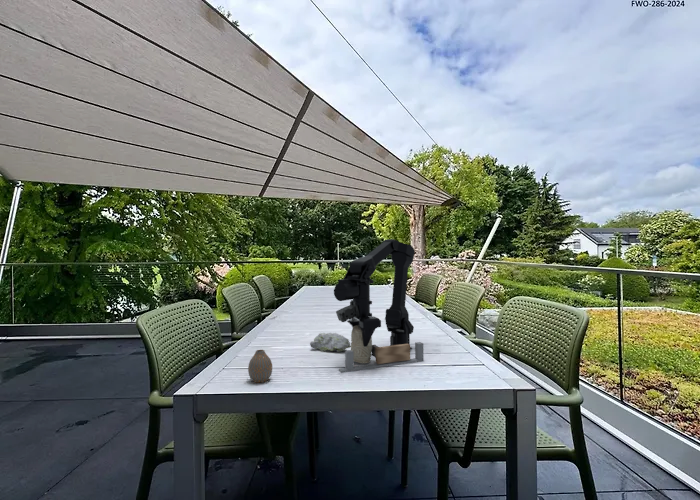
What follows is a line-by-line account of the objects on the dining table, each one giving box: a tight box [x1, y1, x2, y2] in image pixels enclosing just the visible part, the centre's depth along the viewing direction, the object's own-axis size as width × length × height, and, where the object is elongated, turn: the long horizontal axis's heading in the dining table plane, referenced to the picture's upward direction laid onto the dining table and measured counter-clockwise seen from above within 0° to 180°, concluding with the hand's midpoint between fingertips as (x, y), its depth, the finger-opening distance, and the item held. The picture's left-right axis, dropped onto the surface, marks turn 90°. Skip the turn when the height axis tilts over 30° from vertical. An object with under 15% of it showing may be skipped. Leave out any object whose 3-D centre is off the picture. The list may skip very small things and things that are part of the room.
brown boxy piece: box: [371, 344, 411, 364], centre depth 125 cm, size 12×7×5 cm, turn 111°
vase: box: [247, 349, 273, 384], centre depth 109 cm, size 7×7×9 cm
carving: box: [350, 325, 373, 365], centre depth 125 cm, size 6×8×12 cm
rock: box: [309, 332, 351, 353], centre depth 141 cm, size 16×7×7 cm, turn 66°
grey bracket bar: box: [338, 341, 425, 374], centre depth 121 cm, size 30×2×6 cm, turn 111°
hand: (361, 344), depth 125 cm, fingers closed on carving, 6 cm apart
